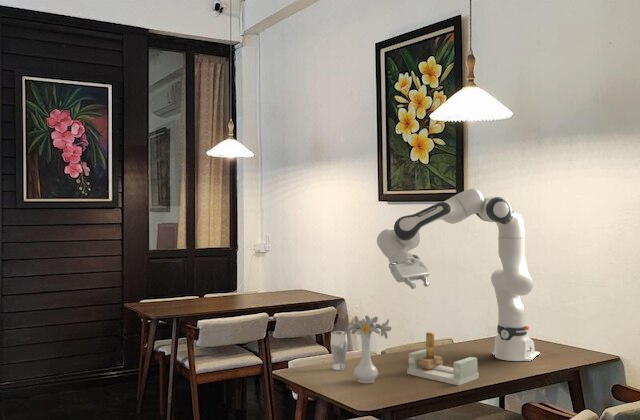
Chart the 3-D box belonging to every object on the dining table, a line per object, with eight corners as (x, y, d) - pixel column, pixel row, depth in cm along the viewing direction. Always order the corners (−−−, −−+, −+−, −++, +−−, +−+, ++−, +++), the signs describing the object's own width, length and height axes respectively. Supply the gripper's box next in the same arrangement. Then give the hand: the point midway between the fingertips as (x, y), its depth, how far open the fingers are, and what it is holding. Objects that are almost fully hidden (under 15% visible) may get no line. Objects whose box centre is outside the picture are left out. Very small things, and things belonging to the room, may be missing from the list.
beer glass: (346, 371, 263) (346, 334, 263) (329, 370, 265) (329, 334, 265) (348, 367, 270) (348, 331, 270) (332, 366, 272) (332, 330, 271)
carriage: (432, 362, 265) (432, 330, 265) (442, 364, 262) (442, 332, 261) (417, 366, 258) (417, 334, 258) (428, 369, 254) (428, 335, 254)
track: (427, 367, 269) (427, 348, 269) (478, 378, 252) (478, 357, 252) (407, 373, 259) (407, 353, 259) (458, 385, 242) (458, 364, 242)
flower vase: (396, 380, 249) (395, 316, 249) (358, 388, 239) (357, 321, 238) (374, 373, 260) (374, 311, 259) (337, 380, 249) (337, 316, 249)
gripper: (391, 258, 267) (410, 284, 261) (420, 255, 282) (439, 279, 275) (382, 268, 271) (401, 294, 264) (412, 265, 285) (430, 289, 278)
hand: (421, 286), depth 270 cm, fingers open, 8 cm apart
